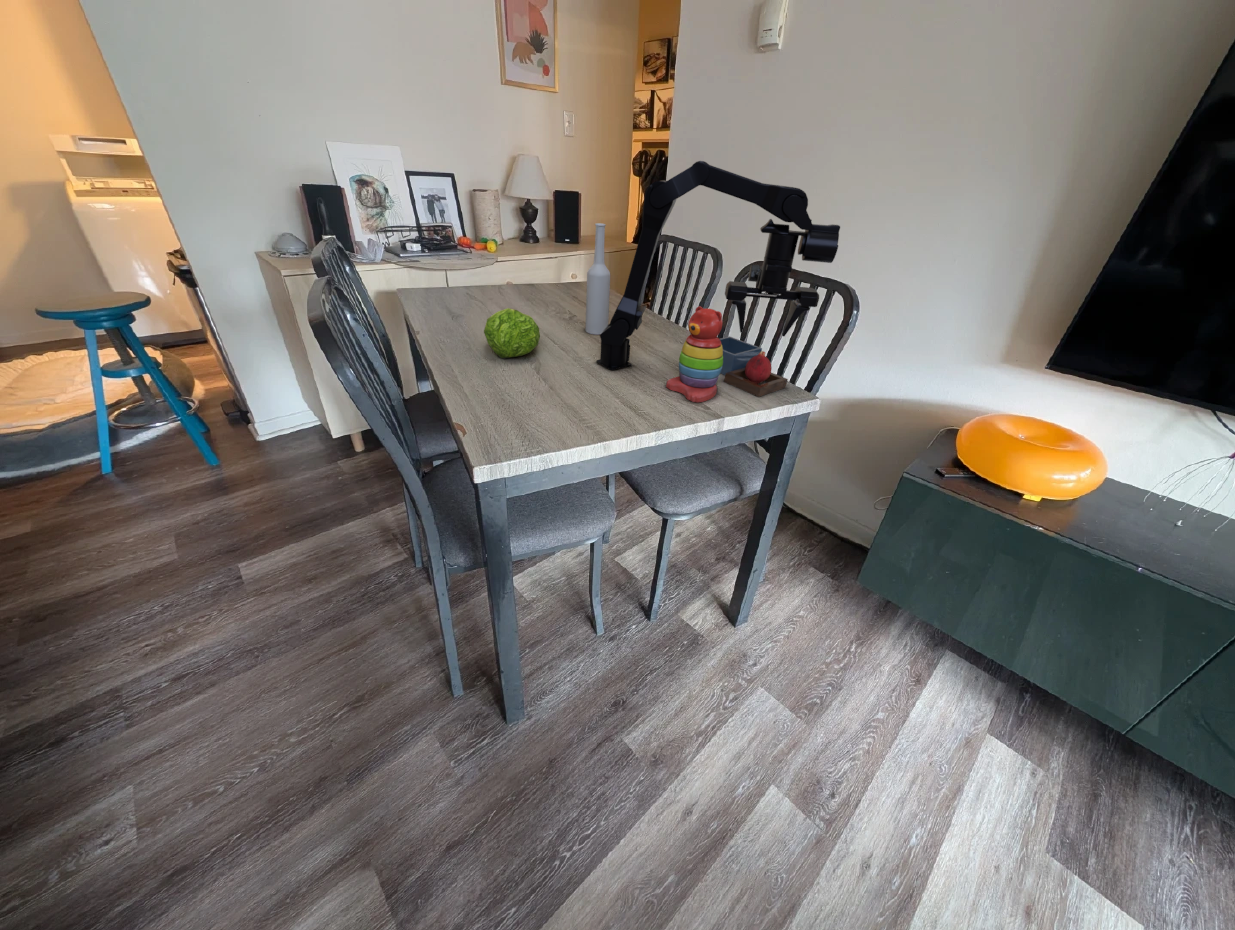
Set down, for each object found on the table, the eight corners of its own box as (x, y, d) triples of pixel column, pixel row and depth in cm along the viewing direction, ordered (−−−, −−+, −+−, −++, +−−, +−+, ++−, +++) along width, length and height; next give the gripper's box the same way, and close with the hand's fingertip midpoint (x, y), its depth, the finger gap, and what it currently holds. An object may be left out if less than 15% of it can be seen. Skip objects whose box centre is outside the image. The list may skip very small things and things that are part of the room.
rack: (758, 397, 104) (760, 387, 103) (724, 381, 110) (725, 372, 109) (785, 387, 109) (787, 379, 108) (751, 373, 116) (753, 365, 114)
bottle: (607, 335, 135) (612, 226, 120) (584, 333, 135) (586, 224, 120) (608, 328, 140) (613, 223, 125) (586, 327, 140) (588, 221, 125)
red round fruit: (761, 392, 106) (769, 357, 102) (737, 384, 109) (744, 351, 105) (771, 384, 110) (779, 351, 106) (748, 377, 113) (755, 345, 109)
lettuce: (534, 313, 131) (494, 285, 124) (552, 335, 111) (506, 303, 104) (511, 348, 134) (470, 323, 127) (524, 376, 114) (477, 348, 107)
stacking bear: (661, 386, 106) (671, 304, 96) (694, 377, 111) (706, 300, 102) (695, 404, 99) (709, 318, 89) (728, 394, 104) (745, 312, 94)
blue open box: (730, 377, 113) (734, 355, 110) (698, 363, 119) (702, 342, 116) (757, 369, 118) (762, 348, 115) (725, 356, 125) (729, 336, 122)
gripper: (816, 255, 102) (797, 327, 111) (729, 249, 104) (717, 320, 112) (829, 264, 93) (807, 342, 101) (733, 257, 94) (720, 334, 103)
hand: (762, 334), depth 105 cm, fingers open, 9 cm apart
